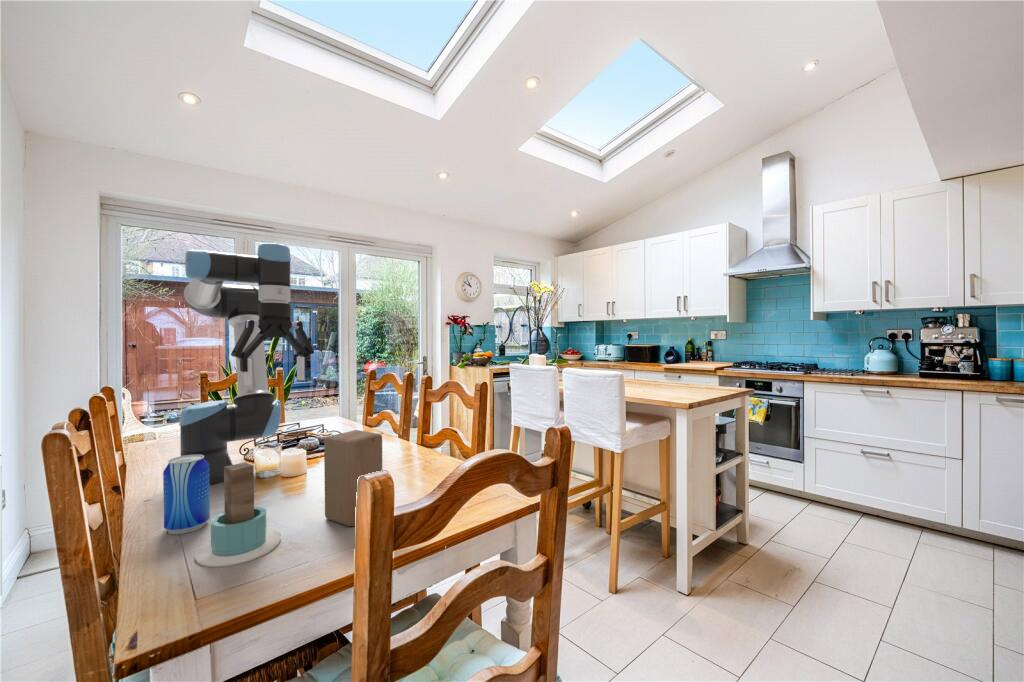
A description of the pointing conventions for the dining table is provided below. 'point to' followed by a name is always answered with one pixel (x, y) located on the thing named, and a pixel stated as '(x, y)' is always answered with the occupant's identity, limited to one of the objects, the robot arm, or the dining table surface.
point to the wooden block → (348, 470)
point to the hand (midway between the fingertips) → (275, 382)
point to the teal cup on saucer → (237, 541)
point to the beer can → (186, 494)
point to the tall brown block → (239, 493)
